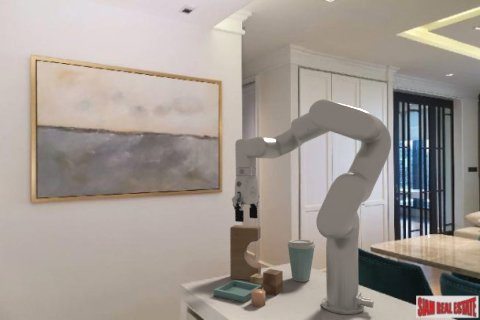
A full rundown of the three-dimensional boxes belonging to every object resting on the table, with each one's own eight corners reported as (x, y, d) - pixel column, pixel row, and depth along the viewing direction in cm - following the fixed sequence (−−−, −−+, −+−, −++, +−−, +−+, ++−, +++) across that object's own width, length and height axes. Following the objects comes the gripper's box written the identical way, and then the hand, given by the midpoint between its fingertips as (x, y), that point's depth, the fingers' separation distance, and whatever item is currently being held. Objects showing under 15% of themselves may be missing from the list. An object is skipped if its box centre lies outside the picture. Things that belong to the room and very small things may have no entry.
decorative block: (261, 277, 136) (260, 226, 137) (257, 281, 131) (257, 228, 131) (234, 274, 140) (234, 224, 140) (229, 278, 134) (229, 227, 135)
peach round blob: (267, 303, 110) (267, 290, 110) (261, 308, 106) (261, 295, 106) (255, 300, 112) (255, 288, 112) (248, 305, 109) (248, 292, 109)
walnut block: (282, 291, 121) (282, 271, 121) (276, 295, 116) (276, 274, 117) (269, 288, 123) (269, 268, 124) (263, 292, 119) (263, 272, 119)
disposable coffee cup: (281, 278, 134) (281, 239, 135) (300, 273, 141) (300, 236, 141) (302, 285, 126) (301, 244, 126) (321, 279, 133) (321, 240, 133)
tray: (262, 292, 120) (262, 285, 120) (244, 303, 110) (244, 296, 110) (233, 285, 126) (233, 279, 126) (213, 296, 116) (213, 289, 116)
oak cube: (265, 286, 126) (265, 275, 126) (260, 289, 123) (260, 278, 123) (256, 284, 128) (256, 273, 128) (250, 287, 125) (250, 276, 125)
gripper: (242, 173, 117) (242, 223, 117) (266, 172, 132) (267, 217, 131) (223, 173, 121) (224, 222, 121) (249, 172, 136) (250, 216, 135)
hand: (246, 219), depth 126 cm, fingers open, 9 cm apart
